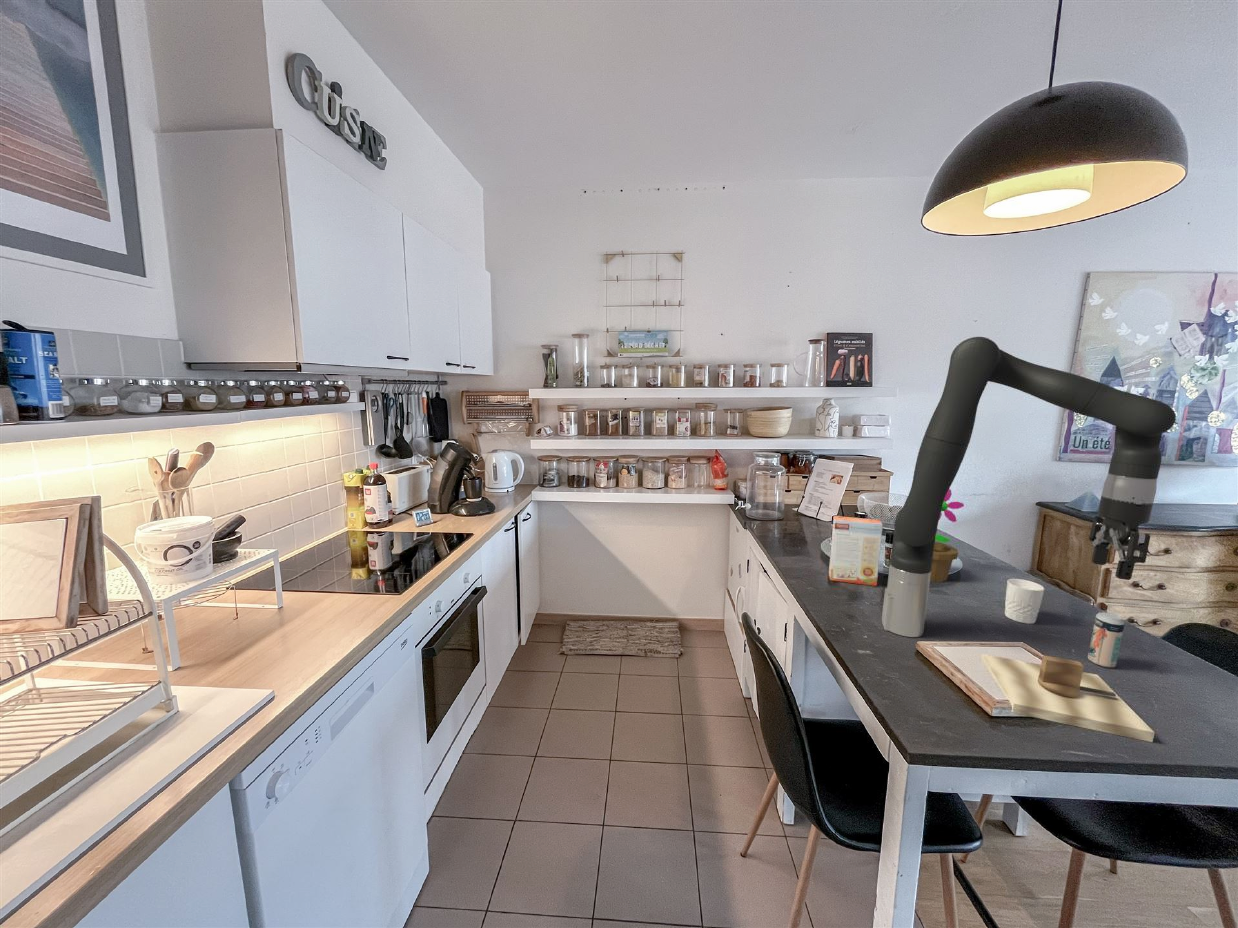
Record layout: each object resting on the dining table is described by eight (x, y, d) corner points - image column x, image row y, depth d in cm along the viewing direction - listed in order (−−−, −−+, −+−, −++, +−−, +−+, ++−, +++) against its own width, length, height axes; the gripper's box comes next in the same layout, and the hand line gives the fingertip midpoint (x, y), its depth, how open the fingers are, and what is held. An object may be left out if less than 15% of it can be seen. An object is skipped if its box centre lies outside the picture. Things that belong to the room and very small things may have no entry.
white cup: (1039, 617, 135) (1045, 584, 133) (1037, 628, 129) (1043, 593, 128) (1003, 608, 140) (1008, 576, 139) (1000, 617, 135) (1006, 584, 133)
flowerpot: (959, 576, 163) (972, 490, 158) (947, 588, 154) (959, 497, 149) (912, 564, 174) (923, 483, 169) (898, 574, 165) (908, 488, 159)
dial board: (1012, 712, 96) (1014, 702, 95) (980, 661, 113) (982, 653, 113) (1152, 742, 88) (1154, 731, 88) (1095, 682, 106) (1097, 673, 105)
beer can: (1086, 654, 117) (1095, 608, 115) (1113, 662, 114) (1123, 615, 112) (1088, 663, 113) (1097, 616, 111) (1117, 671, 110) (1127, 622, 108)
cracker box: (873, 579, 160) (880, 518, 156) (876, 587, 154) (884, 524, 150) (827, 573, 164) (833, 514, 160) (829, 580, 158) (835, 519, 155)
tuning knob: (1045, 692, 98) (1050, 665, 97) (1032, 674, 104) (1036, 649, 103) (1123, 707, 94) (1129, 679, 93) (1104, 688, 100) (1110, 662, 99)
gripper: (1084, 488, 107) (1070, 557, 110) (1125, 503, 94) (1107, 581, 97) (1128, 491, 105) (1112, 562, 108) (1176, 507, 92) (1156, 587, 95)
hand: (1110, 571), depth 103 cm, fingers open, 8 cm apart
